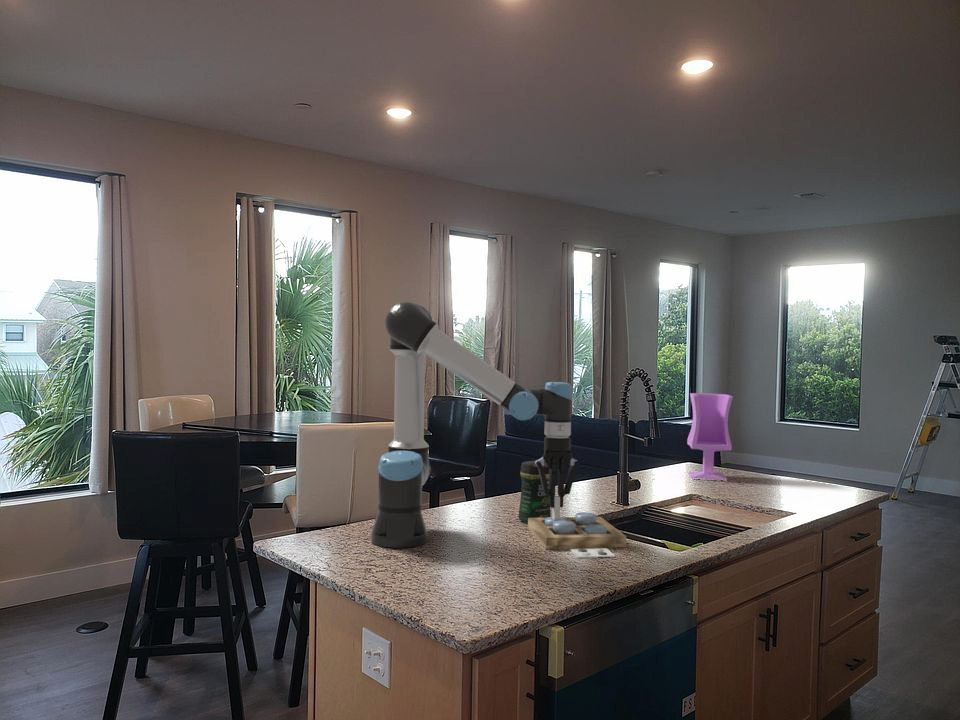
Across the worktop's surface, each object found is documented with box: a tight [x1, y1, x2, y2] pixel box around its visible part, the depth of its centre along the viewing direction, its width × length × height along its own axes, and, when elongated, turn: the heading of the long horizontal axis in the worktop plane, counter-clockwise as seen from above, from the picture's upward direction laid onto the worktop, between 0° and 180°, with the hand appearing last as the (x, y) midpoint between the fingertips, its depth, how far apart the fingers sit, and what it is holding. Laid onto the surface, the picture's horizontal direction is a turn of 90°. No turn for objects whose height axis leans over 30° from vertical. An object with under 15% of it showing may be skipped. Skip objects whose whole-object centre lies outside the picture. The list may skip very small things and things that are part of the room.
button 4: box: [584, 524, 607, 534], centre depth 197 cm, size 6×6×2 cm
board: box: [527, 516, 627, 550], centre depth 201 cm, size 22×22×3 cm
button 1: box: [545, 516, 566, 526], centre depth 205 cm, size 6×6×2 cm
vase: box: [686, 392, 734, 479], centre depth 300 cm, size 16×16×35 cm
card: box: [569, 548, 616, 559], centre depth 185 cm, size 10×7×1 cm
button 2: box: [553, 520, 575, 535], centre depth 196 cm, size 6×6×2 cm
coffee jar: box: [518, 460, 552, 524], centre depth 218 cm, size 10×8×19 cm
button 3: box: [574, 512, 597, 526], centre depth 206 cm, size 6×6×2 cm
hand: (555, 518), depth 205 cm, fingers closed
